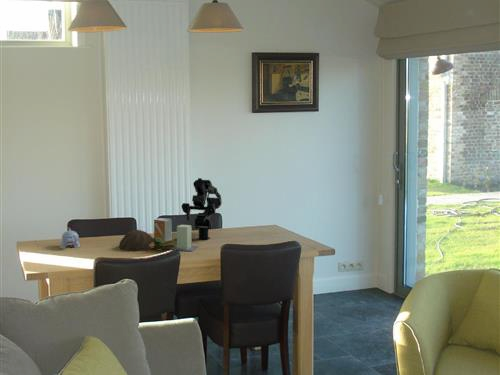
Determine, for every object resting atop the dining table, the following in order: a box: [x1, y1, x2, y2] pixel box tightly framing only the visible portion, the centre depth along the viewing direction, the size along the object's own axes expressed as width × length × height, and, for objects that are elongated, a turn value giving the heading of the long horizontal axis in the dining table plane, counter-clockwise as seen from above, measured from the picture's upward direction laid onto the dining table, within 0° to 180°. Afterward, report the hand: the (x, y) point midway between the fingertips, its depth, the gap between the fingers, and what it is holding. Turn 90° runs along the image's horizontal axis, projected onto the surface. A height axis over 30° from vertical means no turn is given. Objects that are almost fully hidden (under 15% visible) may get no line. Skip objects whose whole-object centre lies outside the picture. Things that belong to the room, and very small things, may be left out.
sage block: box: [176, 224, 193, 249], centre depth 395 cm, size 6×6×12 cm
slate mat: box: [169, 245, 199, 253], centre depth 396 cm, size 12×12×1 cm
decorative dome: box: [118, 229, 154, 252], centre depth 398 cm, size 19×20×10 cm
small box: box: [153, 217, 173, 241], centre depth 413 cm, size 8×6×13 cm
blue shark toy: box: [59, 227, 81, 249], centre depth 399 cm, size 11×15×10 cm
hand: (195, 220), depth 407 cm, fingers open, 9 cm apart
